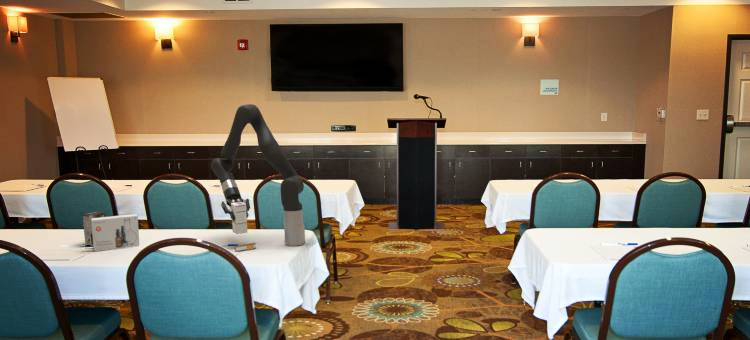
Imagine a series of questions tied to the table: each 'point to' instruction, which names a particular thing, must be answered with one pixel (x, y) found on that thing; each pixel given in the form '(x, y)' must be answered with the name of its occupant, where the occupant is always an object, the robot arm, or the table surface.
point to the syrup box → (239, 218)
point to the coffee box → (90, 225)
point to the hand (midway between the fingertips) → (240, 218)
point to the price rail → (245, 247)
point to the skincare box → (115, 232)
